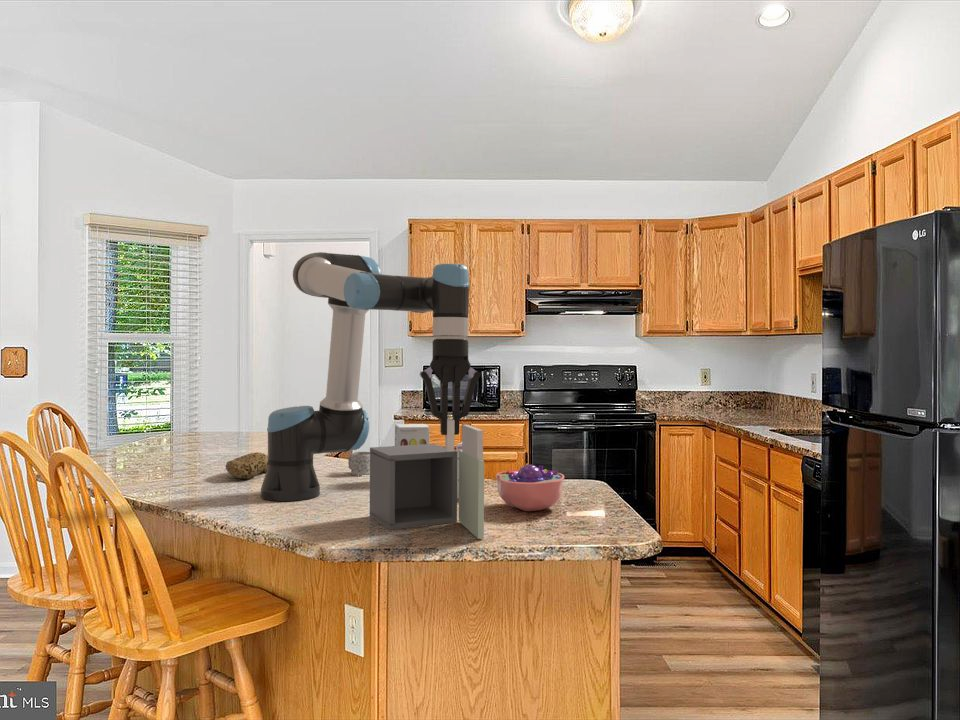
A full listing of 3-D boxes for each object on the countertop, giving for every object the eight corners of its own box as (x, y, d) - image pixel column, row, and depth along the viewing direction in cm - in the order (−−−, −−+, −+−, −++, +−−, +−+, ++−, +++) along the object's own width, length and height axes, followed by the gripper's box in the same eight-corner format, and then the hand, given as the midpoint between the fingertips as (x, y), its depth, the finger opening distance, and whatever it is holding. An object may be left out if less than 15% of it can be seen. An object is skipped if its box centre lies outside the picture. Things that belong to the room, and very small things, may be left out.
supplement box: (396, 485, 200) (397, 426, 200) (393, 479, 209) (393, 423, 209) (430, 484, 203) (430, 426, 203) (424, 478, 212) (425, 423, 212)
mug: (377, 474, 219) (377, 453, 218) (359, 477, 214) (359, 455, 214) (357, 470, 225) (357, 450, 225) (340, 473, 221) (340, 452, 221)
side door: (478, 538, 143) (478, 431, 142) (458, 521, 158) (459, 423, 157) (483, 538, 143) (484, 430, 143) (463, 520, 158) (464, 423, 158)
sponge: (250, 474, 226) (207, 470, 208) (257, 450, 227) (215, 444, 208) (283, 484, 221) (241, 482, 203) (290, 460, 222) (249, 455, 203)
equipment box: (369, 515, 163) (369, 447, 163) (433, 509, 170) (433, 443, 170) (389, 529, 151) (389, 455, 150) (457, 522, 158) (457, 451, 158)
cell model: (568, 502, 180) (568, 458, 180) (559, 520, 160) (560, 470, 160) (504, 498, 184) (504, 455, 184) (487, 515, 164) (487, 467, 164)
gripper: (477, 338, 152) (476, 447, 152) (417, 338, 149) (416, 448, 150) (484, 338, 145) (483, 452, 145) (421, 337, 142) (421, 453, 142)
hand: (449, 450), depth 147 cm, fingers closed
